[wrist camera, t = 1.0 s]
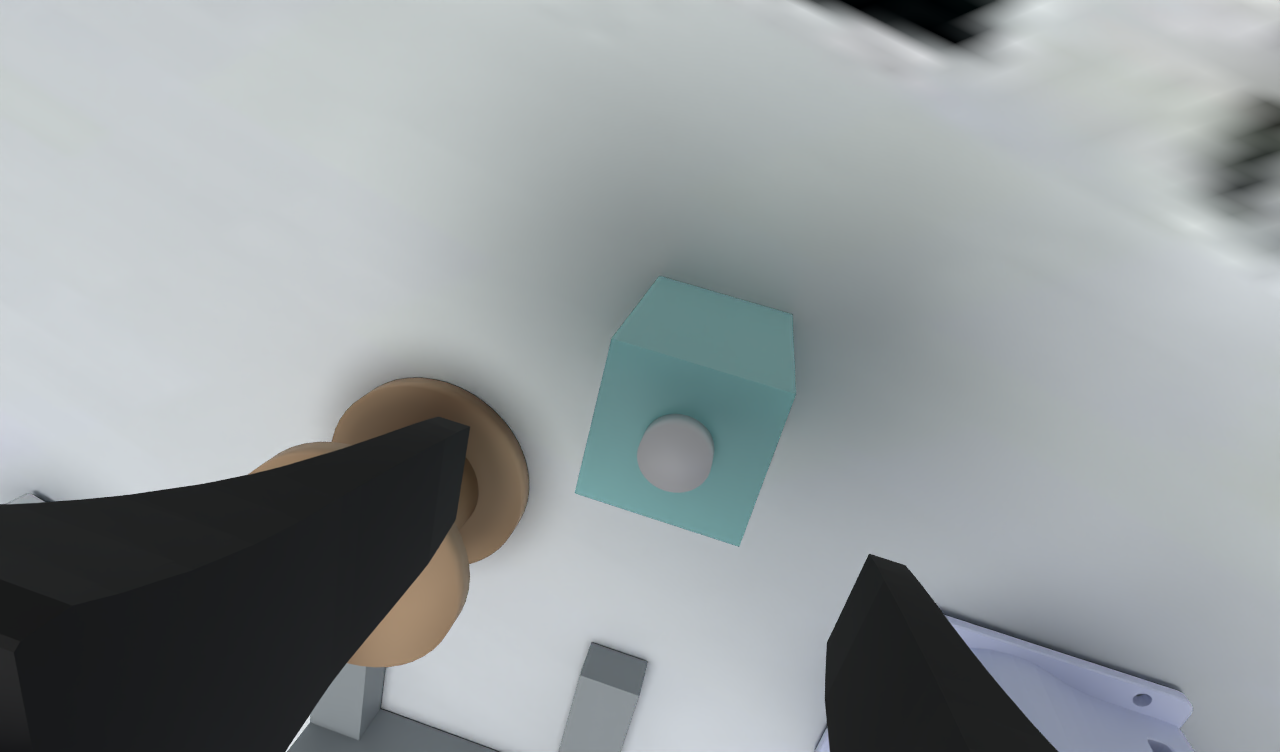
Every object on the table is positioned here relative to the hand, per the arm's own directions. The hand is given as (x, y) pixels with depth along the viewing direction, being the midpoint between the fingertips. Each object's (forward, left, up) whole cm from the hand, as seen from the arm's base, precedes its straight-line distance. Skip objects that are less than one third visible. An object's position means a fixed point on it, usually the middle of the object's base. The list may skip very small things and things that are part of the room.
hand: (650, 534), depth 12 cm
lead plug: (0, 0, -9) cm, 9 cm away
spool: (+8, +7, -9) cm, 14 cm away
